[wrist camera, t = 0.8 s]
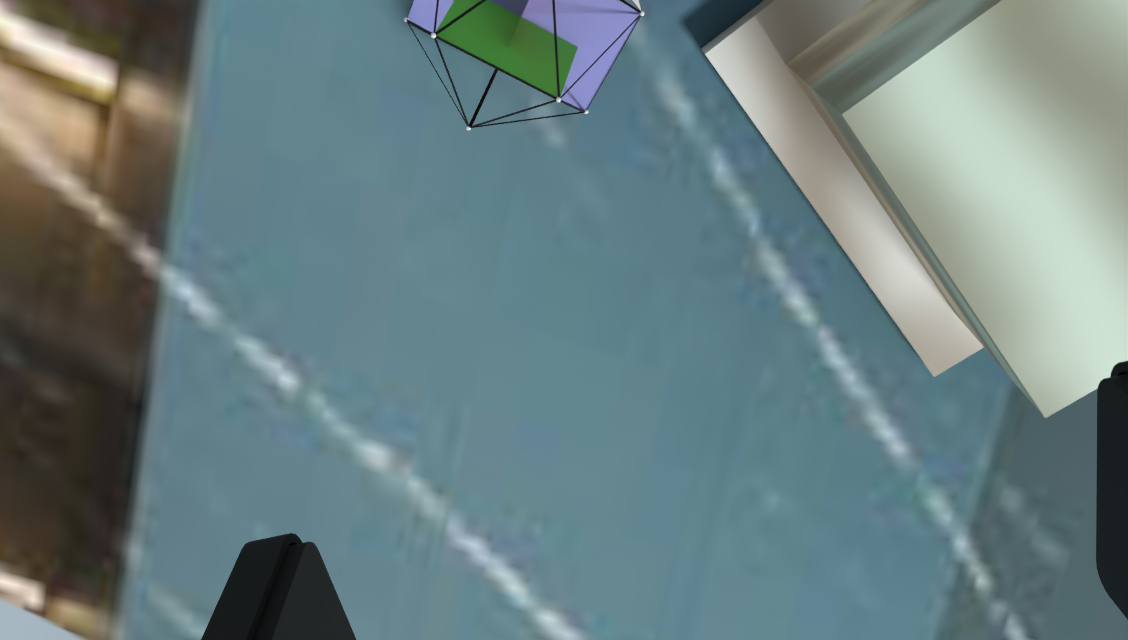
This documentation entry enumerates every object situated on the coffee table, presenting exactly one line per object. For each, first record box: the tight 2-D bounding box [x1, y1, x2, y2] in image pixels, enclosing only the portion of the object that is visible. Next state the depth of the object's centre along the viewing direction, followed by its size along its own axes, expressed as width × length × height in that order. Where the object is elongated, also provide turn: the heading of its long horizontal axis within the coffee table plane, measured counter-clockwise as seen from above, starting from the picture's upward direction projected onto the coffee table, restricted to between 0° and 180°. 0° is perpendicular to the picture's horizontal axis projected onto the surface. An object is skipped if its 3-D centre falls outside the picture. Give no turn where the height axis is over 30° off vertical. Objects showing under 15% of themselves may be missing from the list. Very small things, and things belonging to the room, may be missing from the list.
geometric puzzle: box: [404, 0, 644, 130], centre depth 31 cm, size 7×7×8 cm
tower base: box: [701, 0, 1128, 418], centre depth 30 cm, size 16×16×9 cm
